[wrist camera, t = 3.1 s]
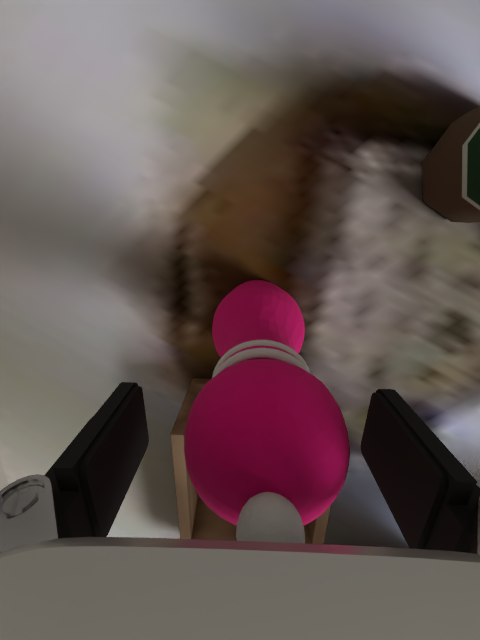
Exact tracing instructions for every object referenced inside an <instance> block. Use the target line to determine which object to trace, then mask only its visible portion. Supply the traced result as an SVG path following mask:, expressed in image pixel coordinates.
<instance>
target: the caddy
mask: <svg viewBox="0 0 480 640" xmlns="http://www.w3.org/2000/svg"><path fill="white" fill-rule="evenodd" d="M209 380H211V379H199V378H193V379H192V382H191V384H190V387H189V389H188V392H187V394H186V397H185V399H184V402H183V404H182V407H181V409H180V412H179V414H178V417H177V419H176V422H175V425H174V427H173V430H172V432H171V445H172V456H173V467H174V477H175V488H176V499H177V509H178V520H179V531H180V539H198V540H227V541H237V539H236V529H237V526H236V525H234V524H232V523H230V522H228V521H226V520H224V519H223V518H221V517H220V516H219V515H217V514H216V513H215V512H213V511H212V510H211V509H210V508H209V507H208V506H207V505H206V504H205V503H204V501H203V500H202V499H201V498H200V497H199V495H198V493H197V492H196V490H195V488H194V486H193V484H192V482H191V480H190V477H189V474H188V472H187V468H186V461H185V455H184V433H185V428H186V423H187V419H188V415H189V412H190V409H191V407H192V405H193V403H194V400H195V399H196V397H197V396H198V394H199V393H200V391H201V390H202V388H203V387H204V385H205V384H206V383H207V382H208V381H209ZM330 507H331V505H330V506H329V507H328V508H327V509H326V510H325V511H324V512H323V514H322V515H320V516H319V517H318V518H316V519H315V520H313V521H312V522H310V523H308V524H306V525H304V532H305V544H324V540H325V535H326V529H327V524H328V518H329V513H330Z"/></svg>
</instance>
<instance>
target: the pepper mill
mask: <svg viewBox="0 0 480 640" xmlns="http://www.w3.org/2000/svg"><path fill="white" fill-rule="evenodd" d="M304 334H305V325H304V320H303V316H302V313H301V311H300V308H299V306H298V304H297V303H296V301H295V300H294V299H293V298H292V297H291V296H290V295H289V294H288V293H287V292H285V291H284V290H282V289H280V288H279V287H278V286H276V285H274V284H273V283H270V282H267V281H263V280H251V281H247V282H244V283H242V284H240V285H239V286H237V287H236V288H235V289H234V290H233V291H231V292H230V293H229V294H227V295H226V296H225V297H224V298H223V300H222V301H221V302H220V304H219V305H218V307H217V309H216V312H215V315H214V319H213V326H212V336H213V341H214V345H215V348H216V350H217V353H218V354H219V356H220V357H221V359H220V360H219V361H218V363H217V365H216V367H215V369H214V372H213V376H212V379H211V380H209V381H208V382H207V383H206V384H205V385H204V387H203V388H202V390H201V391H200V393H199V394H198V396H197V397H196V399H195V400H194V403H193V405H192V407H191V409H190V412H189V415H188V419H187V423H186V428H185V433H184V455H185V461H186V468H187V472H188V474H189V477H190V480H191V482H192V484H193V486H194V488H195V490H196V492H197V493H198V495H199V497H200V498H201V499H202V500H203V501H204V503H205V504H206V505H207V506H208V507H209V508H210V509H211V510H212V511H213V512H215V513H216V514H217V515H219V516H220V517H221V518H223V519H224V520H226V521H228V522H230V523H232V524H234V525H236V526H237V529H236V539H237V541H253V542H279V543H304V544H305V532H304V525H306V524H308V523H310V522H312V521H313V520H315V519H316V518H318V517H319V516H320V515H322V514H323V512H324V511H325V510H326V509H327V508H328V507H329V506H330V505H331V504H332V502H333V501H334V500H335V498H336V497H337V495H338V493H339V492H340V490H341V488H342V487H343V484H344V481H345V478H346V475H347V472H348V466H349V457H350V446H349V439H348V432H347V428H346V425H345V421H344V418H343V415H342V413H341V410H340V407H339V406H338V404H337V402H336V401H335V399H334V398H333V396H332V395H331V393H330V392H329V391H328V389H327V388H326V387H325V385H324V384H323V383H322V382H321V381H320V380H318V379H317V378H316V377H315V376H313V375H312V374H310V371H309V368H308V366H307V364H306V362H305V361H304V360H303V358H302V357H301V356H300V355H299V352H300V350H301V347H302V344H303V340H304Z"/></svg>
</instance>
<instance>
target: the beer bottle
mask: <svg viewBox="0 0 480 640" xmlns="http://www.w3.org/2000/svg"><path fill="white" fill-rule="evenodd" d="M422 172H423V201H424V202H425V203H426V204H428V205H429V206H430V207H432V208H433V209H434V210H436V211H437V212H439V213H440V214H441V215H443V216H444V217H446V218H447V219H448V220H450V221H451V222H467V223H470V222H480V106H478V107H476V108H475V109H473V110H471V111H469V112H468V113H466V114H464V115H463V116H461V117H460V118H458V119H457V120H455V121H453V122H452V123H451V124H450V125H449V127H448V128H447V130H446V131H445V132H444V134H443V135H442V136H441V138H440V139H439V141H438V142H437V143H436V145H435V146H434V147H433V149H432V150H431V152H430V153H429V154H428V156H427V157H426V159H425V160H424V161H423V163H422Z"/></svg>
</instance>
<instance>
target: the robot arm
mask: <svg viewBox="0 0 480 640" xmlns="http://www.w3.org/2000/svg"><path fill="white" fill-rule="evenodd" d="M148 442H149V436H148V429H147V421H146V414H145V407H144V399H143V392H142V388H141V387H140V386H138V384H137V383H130V382H122V383H120V384H119V386H118V387H117V388H116V389H115V391H114V392H113V393H112V394H111V396H110V397H109V398H108V399H107V400H106V402H105V403H104V404H103V405H102V407H101V408H100V409H99V410H98V412H97V413H96V414H95V415H94V416H93V417H92V418H91V419H90V420H89V421H88V423H87V424H86V425H85V426H84V428H83V429H82V430H81V431H80V432H79V434H78V435H77V436H76V437H75V439H74V440H73V441H72V442H71V444H70V445H69V446H68V447H67V448H66V450H65V451H64V452H63V453H62V455H61V456H60V457H59V458H58V460H57V461H56V462H55V463H54V464H53V466H52V467H51V468H50V469H49V471H48V472H47V473H46V474H45V475H38V474H37V475H30V476H26V477H24V478H21V479H18V480H16V481H15V482H13V483H11V484H9V485H8V486H6V487H5V488H3V489H2V490H1V491H0V640H480V488H479V487H478V486H477V485H476V483H477V481H476V480H475V479H474V478H473V477H472V475H471V474H470V473H469V472H468V471H467V470H466V469H465V468H464V467H463V465H462V464H461V463H460V462H459V461H458V460H457V459H456V458H455V457H454V455H453V454H452V453H451V452H450V451H449V450H448V449H447V448H446V446H445V445H444V444H443V443H442V442H441V441H440V440H439V439H438V438H437V436H436V435H435V434H434V433H433V432H432V431H431V430H430V429H429V428H428V426H427V425H426V424H425V423H424V422H423V421H422V420H421V419H420V418H419V416H418V415H417V414H416V413H415V412H414V411H413V410H412V409H411V407H410V406H409V405H408V404H407V403H406V402H405V401H404V400H403V399H402V397H401V396H400V395H399V394H398V393H397V392H396V391H395V390H392V389H378V390H377V391H376V393H373V394H372V396H371V401H370V405H369V410H368V414H367V419H366V423H365V428H364V432H363V437H362V441H361V451H362V454H363V457H364V459H365V461H366V463H367V464H368V466H369V468H370V470H371V472H372V474H373V476H374V478H375V480H376V482H377V484H378V486H379V488H380V490H381V492H382V494H383V496H384V498H385V500H386V502H387V504H388V506H389V508H390V510H391V512H392V514H393V516H394V518H395V520H396V522H397V524H398V526H399V528H400V530H401V532H402V534H403V536H404V538H405V540H406V542H407V544H408V546H409V547H410V548H394V547H372V546H350V545H327V544H304V543H279V542H253V541H227V540H198V539H167V538H131V537H106V536H107V535H108V533H109V531H110V528H111V526H112V524H113V522H114V520H115V517H116V515H117V513H118V511H119V509H120V506H121V504H122V502H123V500H124V498H125V495H126V493H127V491H128V489H129V486H130V484H131V482H132V480H133V478H134V475H135V473H136V471H137V469H138V467H139V464H140V462H141V460H142V458H143V456H144V453H145V451H146V449H147V446H148Z"/></svg>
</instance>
